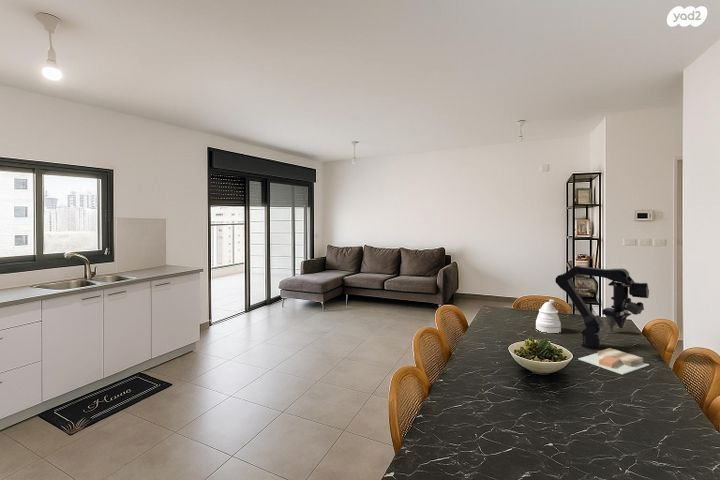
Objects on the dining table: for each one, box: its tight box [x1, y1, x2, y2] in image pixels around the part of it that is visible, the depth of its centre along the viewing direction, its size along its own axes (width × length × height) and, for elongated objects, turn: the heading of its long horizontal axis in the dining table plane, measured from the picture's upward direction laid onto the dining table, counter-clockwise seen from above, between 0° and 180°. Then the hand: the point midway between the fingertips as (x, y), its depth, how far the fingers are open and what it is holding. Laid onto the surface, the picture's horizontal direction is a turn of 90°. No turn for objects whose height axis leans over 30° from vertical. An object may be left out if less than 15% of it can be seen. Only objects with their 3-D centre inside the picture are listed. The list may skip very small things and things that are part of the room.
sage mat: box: [577, 352, 650, 375], centre depth 161 cm, size 19×19×1 cm
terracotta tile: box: [599, 356, 620, 368], centre depth 159 cm, size 5×8×2 cm, turn 123°
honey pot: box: [535, 299, 562, 334], centre depth 208 cm, size 13×13×18 cm
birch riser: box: [597, 347, 644, 367], centre depth 163 cm, size 14×9×2 cm, turn 24°
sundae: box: [604, 315, 617, 335], centre depth 200 cm, size 7×7×15 cm
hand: (620, 327), depth 171 cm, fingers closed
